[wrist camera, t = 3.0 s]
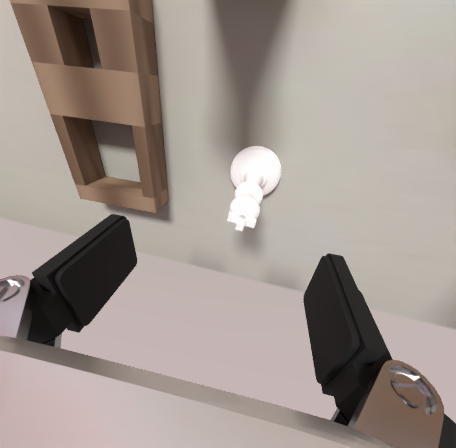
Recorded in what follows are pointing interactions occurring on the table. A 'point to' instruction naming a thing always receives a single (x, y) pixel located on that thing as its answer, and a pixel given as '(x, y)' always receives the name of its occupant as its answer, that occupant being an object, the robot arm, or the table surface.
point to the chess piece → (252, 183)
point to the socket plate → (100, 90)
